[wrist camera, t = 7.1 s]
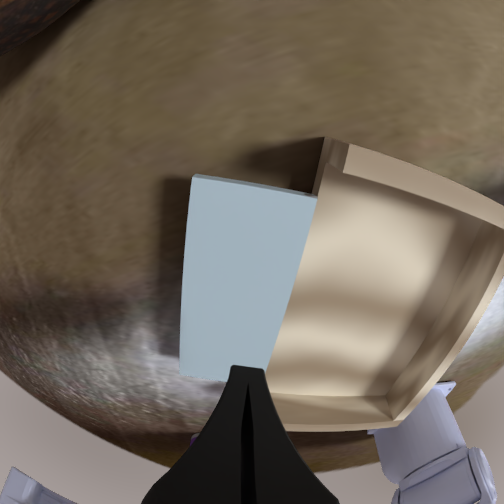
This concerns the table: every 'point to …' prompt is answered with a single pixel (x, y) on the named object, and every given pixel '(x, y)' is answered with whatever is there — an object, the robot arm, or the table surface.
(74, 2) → the jug
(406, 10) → the table surface
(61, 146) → the table surface
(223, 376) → the panel
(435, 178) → the tray
